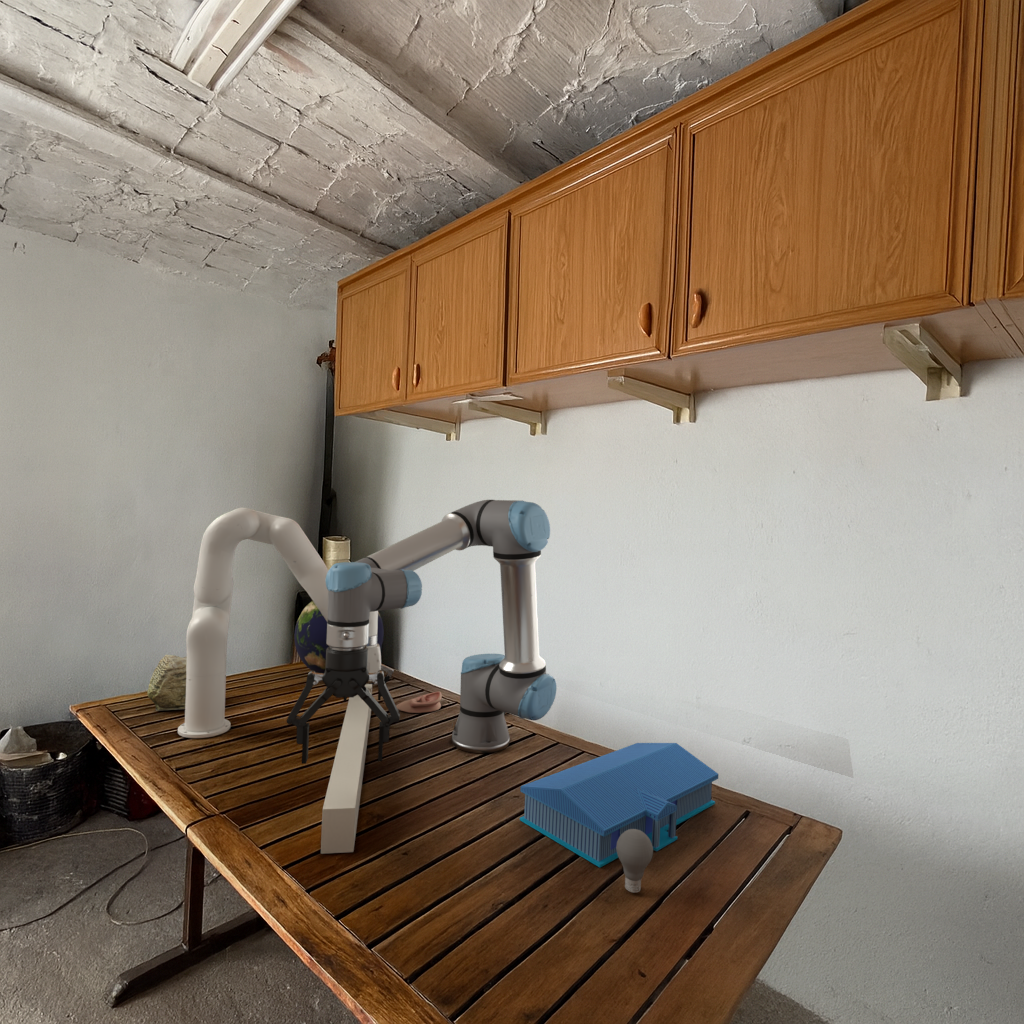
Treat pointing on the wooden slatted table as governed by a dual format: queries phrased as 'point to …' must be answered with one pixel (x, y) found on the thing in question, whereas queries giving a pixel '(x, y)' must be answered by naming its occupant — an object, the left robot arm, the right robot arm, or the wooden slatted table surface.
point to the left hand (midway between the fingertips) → (362, 699)
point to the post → (346, 780)
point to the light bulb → (634, 857)
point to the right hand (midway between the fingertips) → (342, 759)
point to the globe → (317, 637)
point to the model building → (619, 799)
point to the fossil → (169, 683)
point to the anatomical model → (421, 703)
